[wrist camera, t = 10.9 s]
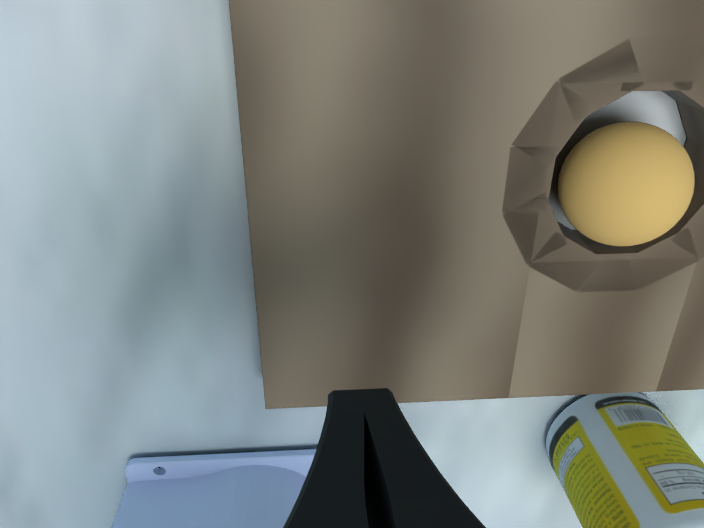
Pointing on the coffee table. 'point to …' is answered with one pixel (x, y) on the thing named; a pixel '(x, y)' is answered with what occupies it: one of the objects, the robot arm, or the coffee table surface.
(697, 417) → the coffee table surface
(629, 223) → the ball
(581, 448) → the supplement bottle
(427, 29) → the wooden board with hole
